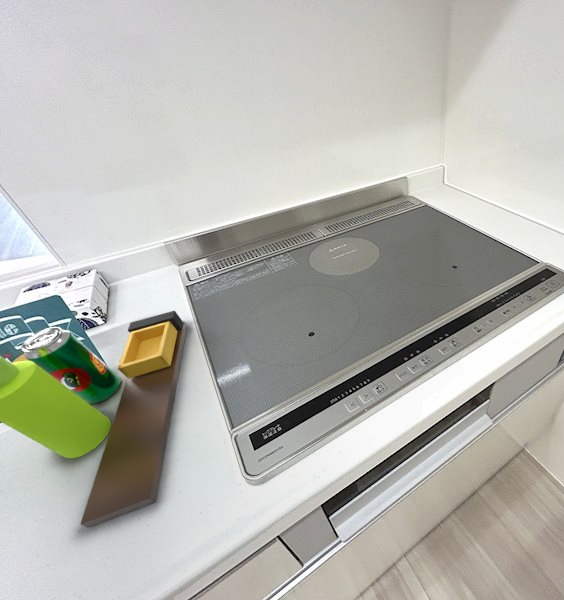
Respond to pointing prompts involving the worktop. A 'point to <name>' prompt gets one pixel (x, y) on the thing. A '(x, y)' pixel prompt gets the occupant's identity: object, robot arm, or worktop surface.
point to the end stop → (157, 321)
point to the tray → (148, 350)
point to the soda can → (71, 364)
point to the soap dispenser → (48, 410)
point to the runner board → (135, 443)
